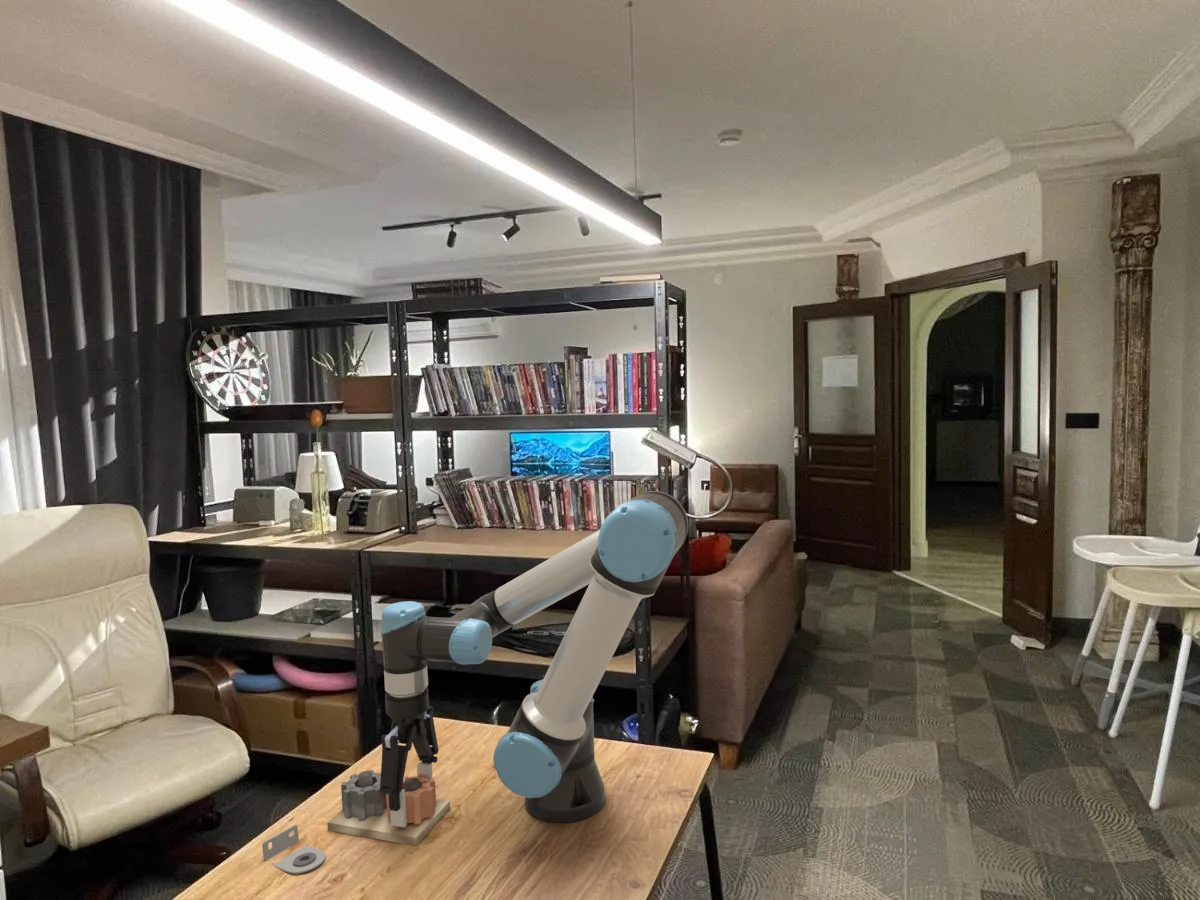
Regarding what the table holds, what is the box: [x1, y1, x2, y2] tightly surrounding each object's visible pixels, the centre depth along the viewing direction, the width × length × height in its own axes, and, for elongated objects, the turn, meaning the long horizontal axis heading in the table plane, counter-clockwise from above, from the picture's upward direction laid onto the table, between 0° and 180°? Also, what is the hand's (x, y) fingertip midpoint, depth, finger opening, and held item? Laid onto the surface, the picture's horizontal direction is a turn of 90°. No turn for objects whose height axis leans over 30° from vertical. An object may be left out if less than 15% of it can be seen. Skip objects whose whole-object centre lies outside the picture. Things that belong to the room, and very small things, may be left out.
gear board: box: [326, 769, 451, 847], centre depth 140 cm, size 18×12×8 cm, turn 73°
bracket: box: [261, 824, 327, 875], centre depth 129 cm, size 7×10×4 cm, turn 57°
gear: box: [386, 774, 437, 825], centre depth 139 cm, size 8×8×5 cm
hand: (412, 810), depth 139 cm, fingers closed on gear, 9 cm apart
